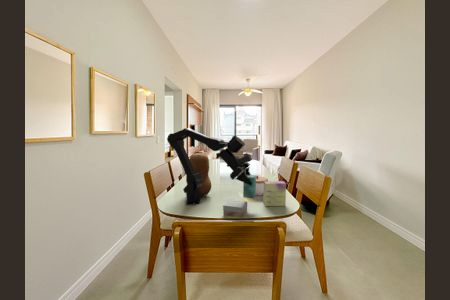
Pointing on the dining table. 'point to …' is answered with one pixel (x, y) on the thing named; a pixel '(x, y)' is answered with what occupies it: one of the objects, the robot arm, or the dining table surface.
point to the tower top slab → (235, 206)
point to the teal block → (250, 187)
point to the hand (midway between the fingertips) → (252, 183)
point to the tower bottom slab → (234, 213)
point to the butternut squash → (202, 171)
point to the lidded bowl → (260, 185)
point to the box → (274, 193)
